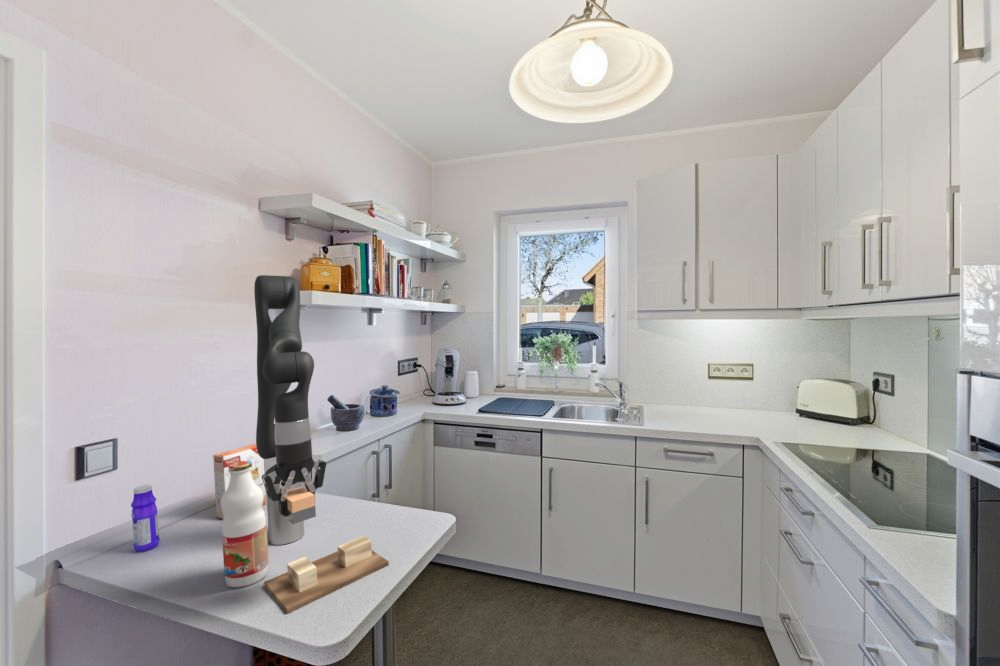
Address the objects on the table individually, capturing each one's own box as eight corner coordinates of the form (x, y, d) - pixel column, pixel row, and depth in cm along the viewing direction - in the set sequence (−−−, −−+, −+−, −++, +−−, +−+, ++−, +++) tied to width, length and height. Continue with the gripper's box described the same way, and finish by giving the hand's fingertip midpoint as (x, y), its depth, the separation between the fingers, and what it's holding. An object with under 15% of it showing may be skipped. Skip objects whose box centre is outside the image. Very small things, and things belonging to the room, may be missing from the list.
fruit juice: (275, 574, 108) (268, 461, 107) (233, 593, 100) (225, 472, 100) (260, 562, 114) (253, 455, 113) (219, 579, 107) (211, 465, 106)
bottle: (132, 547, 126) (127, 487, 126) (156, 539, 130) (152, 481, 130) (136, 555, 121) (131, 492, 121) (161, 546, 125) (157, 486, 125)
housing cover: (279, 503, 102) (279, 493, 102) (301, 496, 106) (301, 486, 106) (292, 513, 97) (291, 502, 97) (315, 505, 100) (314, 494, 100)
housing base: (280, 514, 102) (279, 503, 102) (302, 507, 106) (301, 496, 106) (293, 524, 97) (292, 513, 97) (315, 516, 100) (315, 505, 100)
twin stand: (264, 586, 103) (263, 565, 103) (359, 545, 120) (358, 527, 120) (287, 613, 92) (286, 590, 92) (388, 565, 109) (387, 545, 109)
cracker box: (227, 521, 141) (222, 456, 140) (215, 518, 143) (211, 454, 143) (267, 503, 153) (263, 444, 153) (256, 501, 156) (252, 443, 155)
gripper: (317, 429, 109) (321, 497, 109) (253, 443, 99) (258, 517, 99) (330, 434, 103) (334, 505, 104) (264, 449, 93) (269, 528, 94)
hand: (297, 511), depth 101 cm, fingers closed on housing base, housing cover, 5 cm apart
